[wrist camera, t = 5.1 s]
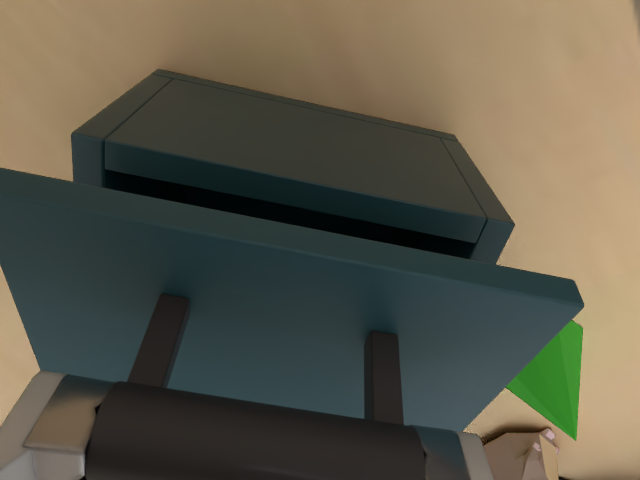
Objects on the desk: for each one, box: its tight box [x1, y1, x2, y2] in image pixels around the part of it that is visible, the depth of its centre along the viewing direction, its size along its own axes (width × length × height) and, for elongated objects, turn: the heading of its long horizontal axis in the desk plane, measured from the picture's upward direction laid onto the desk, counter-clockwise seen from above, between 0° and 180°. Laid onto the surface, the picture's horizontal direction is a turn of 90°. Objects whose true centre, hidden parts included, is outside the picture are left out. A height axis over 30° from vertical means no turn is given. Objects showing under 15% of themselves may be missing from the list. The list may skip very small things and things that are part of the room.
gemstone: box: [506, 320, 583, 440], centre depth 25 cm, size 6×6×6 cm
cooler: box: [71, 69, 515, 264], centre depth 21 cm, size 14×13×8 cm
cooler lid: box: [0, 168, 584, 480], centre depth 14 cm, size 15×13×5 cm
